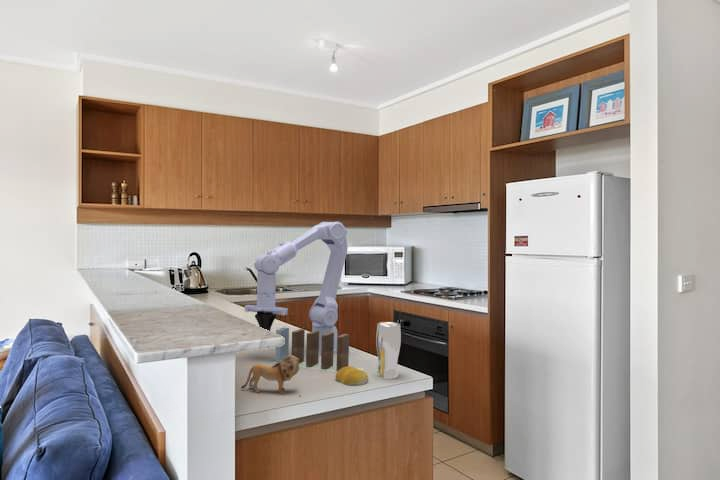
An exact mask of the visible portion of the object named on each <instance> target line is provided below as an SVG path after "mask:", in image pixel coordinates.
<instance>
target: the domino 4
mask: <svg viewBox="0 0 720 480" xmlns="http://www.w3.org/2000/svg"><path fill="white" fill-rule="evenodd" d="M333 351H334V333H333V332H328V333H326V334H323V335H322V346H321V354H320V358H321V359H320V363H321V369H325V370H326V369H328V368H330V367H331V366H333V365H334V353H333Z"/></svg>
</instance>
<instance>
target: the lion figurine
mask: <svg viewBox="0 0 720 480" xmlns="http://www.w3.org/2000/svg"><path fill="white" fill-rule="evenodd" d="M299 370H300V367H299V358H297V357H295V356H291V355H289V356H288V357H286V359H284V360H282V361H280V362H278V363H277V364H274V365H265V364H263V363H256V364H254V365H252V366H251V368H250V370H249V372H248V375H247V379H246V381H245V384H243V385H242V386H241V387H240V389H245V388H246V387H247V385H248V387H249V389H254V390H255V391H254V392H255V393H258V394H259V393H261V389H259V388H258V383H259V381H260V380H261V379H260V378H261V377H262V378H263V379H265V380H267V381H271V382H275V381H276V382H277V384H278V385H277V386H278V393H279V394H281V395H284V394H285V389H286V388H285V387H284V384H285V382H289V381H291V379H292V378H293V377H294V376H295V375H297V374H298V373H299ZM251 376H252V377H251Z"/></svg>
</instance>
